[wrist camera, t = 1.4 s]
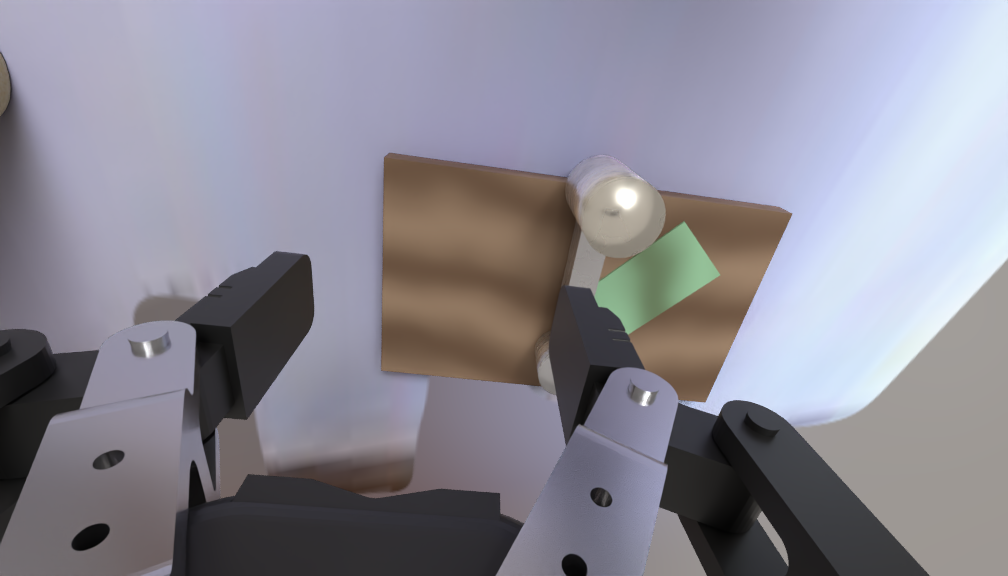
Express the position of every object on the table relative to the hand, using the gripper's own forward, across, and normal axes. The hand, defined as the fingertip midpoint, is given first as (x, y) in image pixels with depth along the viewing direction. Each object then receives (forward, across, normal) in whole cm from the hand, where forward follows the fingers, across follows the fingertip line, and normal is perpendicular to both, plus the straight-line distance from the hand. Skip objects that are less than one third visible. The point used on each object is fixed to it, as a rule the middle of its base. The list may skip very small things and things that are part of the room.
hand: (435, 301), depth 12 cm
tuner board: (+18, -8, +8) cm, 21 cm away
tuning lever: (+16, -8, +6) cm, 19 cm away
